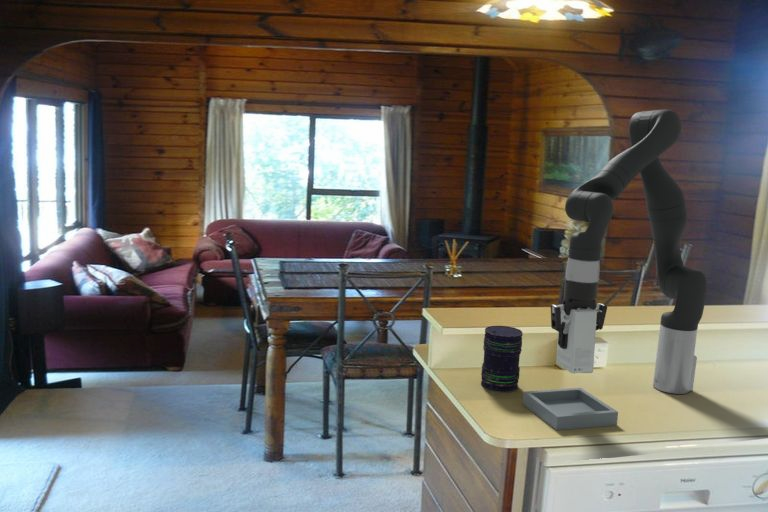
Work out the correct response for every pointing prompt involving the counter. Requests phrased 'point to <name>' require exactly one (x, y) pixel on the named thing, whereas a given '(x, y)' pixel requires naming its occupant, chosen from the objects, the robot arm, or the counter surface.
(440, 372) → the counter surface
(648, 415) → the counter surface
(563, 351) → the skincare box
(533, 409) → the tray
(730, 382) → the counter surface
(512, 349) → the dark blue barrel
